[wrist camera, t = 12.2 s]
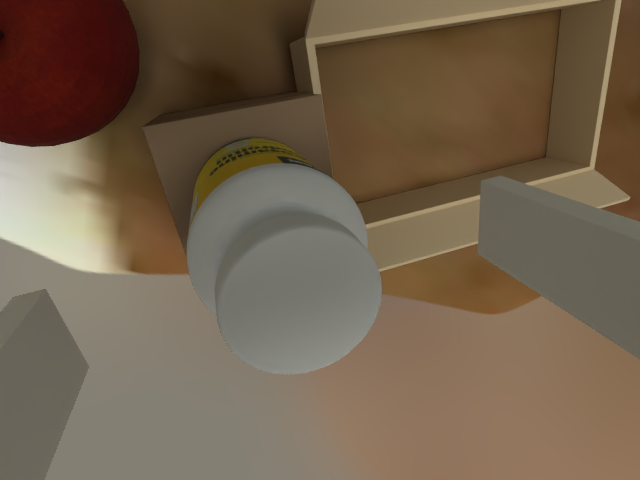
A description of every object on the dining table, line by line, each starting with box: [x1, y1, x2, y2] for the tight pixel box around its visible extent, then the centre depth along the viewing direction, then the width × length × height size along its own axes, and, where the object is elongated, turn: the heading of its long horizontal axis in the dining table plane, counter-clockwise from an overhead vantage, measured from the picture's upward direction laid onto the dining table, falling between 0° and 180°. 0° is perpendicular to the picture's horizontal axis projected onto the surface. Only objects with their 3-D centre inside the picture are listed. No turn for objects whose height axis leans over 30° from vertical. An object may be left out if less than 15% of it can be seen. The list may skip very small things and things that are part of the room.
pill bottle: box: [187, 137, 382, 374], centre depth 15 cm, size 6×6×12 cm
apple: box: [0, 0, 139, 147], centre depth 18 cm, size 10×10×10 cm
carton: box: [289, 0, 630, 272], centre depth 27 cm, size 16×23×8 cm
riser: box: [142, 92, 333, 257], centre depth 24 cm, size 9×9×8 cm
